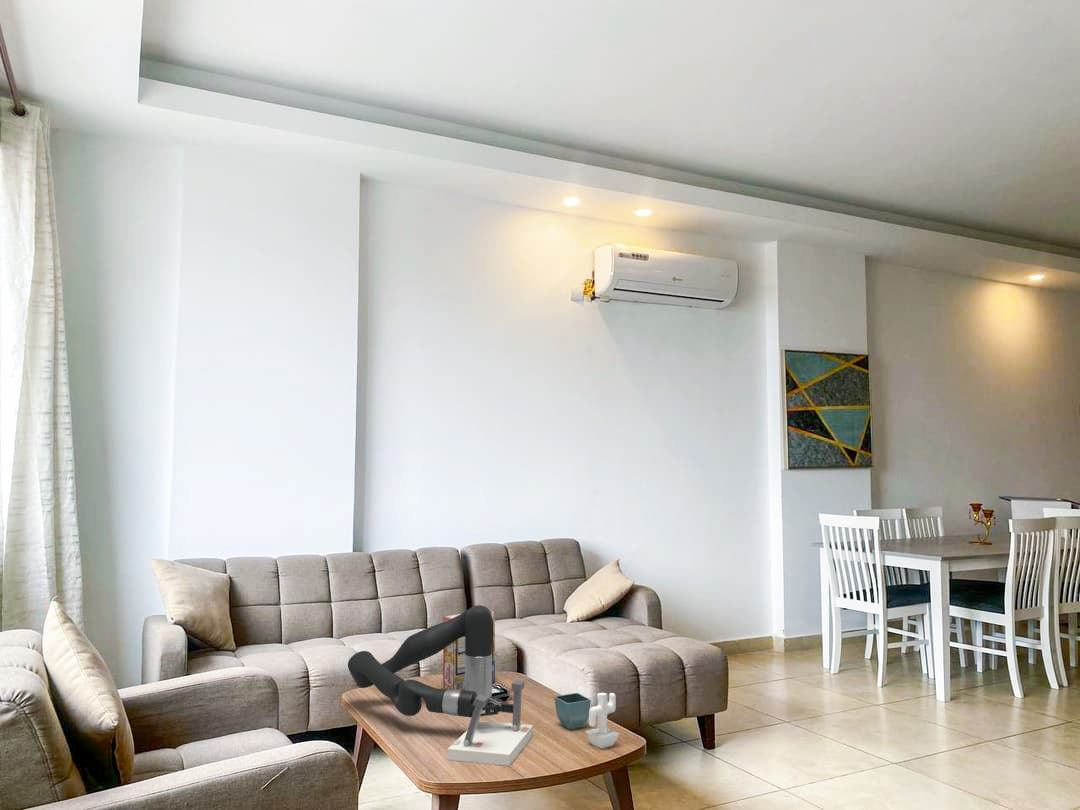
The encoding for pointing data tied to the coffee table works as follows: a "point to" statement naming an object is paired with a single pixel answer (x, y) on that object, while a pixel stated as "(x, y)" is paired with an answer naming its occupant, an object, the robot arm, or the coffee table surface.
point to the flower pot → (572, 710)
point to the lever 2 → (517, 703)
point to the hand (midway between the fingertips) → (514, 708)
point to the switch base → (492, 744)
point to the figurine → (602, 721)
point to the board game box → (460, 660)
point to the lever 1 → (475, 718)
